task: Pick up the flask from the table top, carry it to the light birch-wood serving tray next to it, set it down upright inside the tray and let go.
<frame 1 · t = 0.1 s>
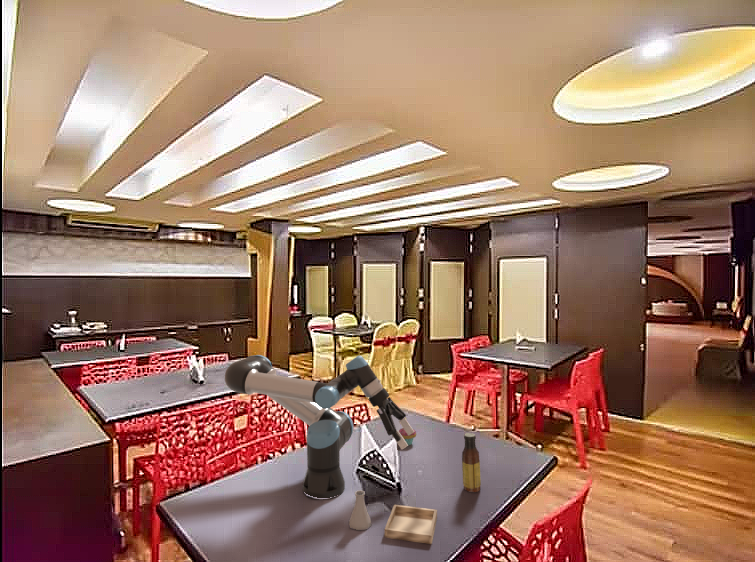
hand: (408, 440, 164), 15 cm above the table, tool tilted 35°, fingers open, 13 cm apart
cupcake: (407, 443, 200), on the table
flask: (360, 524, 137), on the table
serving tray: (411, 527, 135), on the table
sauce bottle: (471, 489, 158), on the table
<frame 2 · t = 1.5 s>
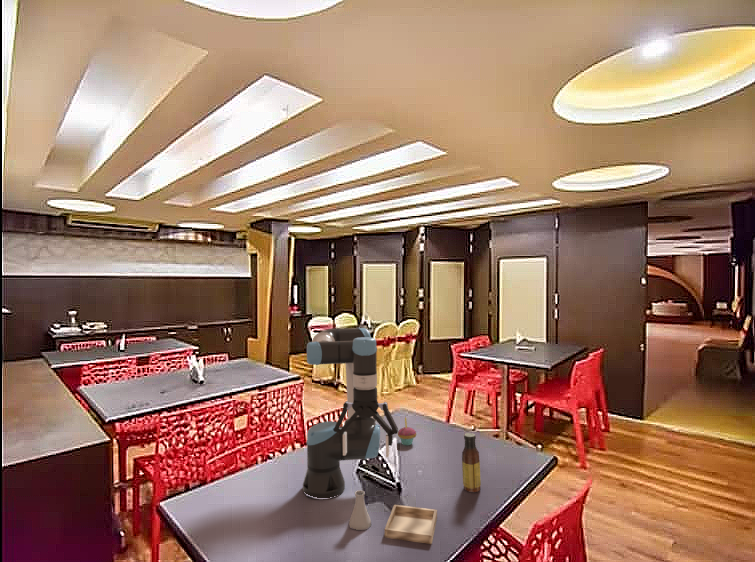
hand: (366, 454, 137), 21 cm above the table, tool pointing down, fingers open, 13 cm apart
nothing on the table moved.
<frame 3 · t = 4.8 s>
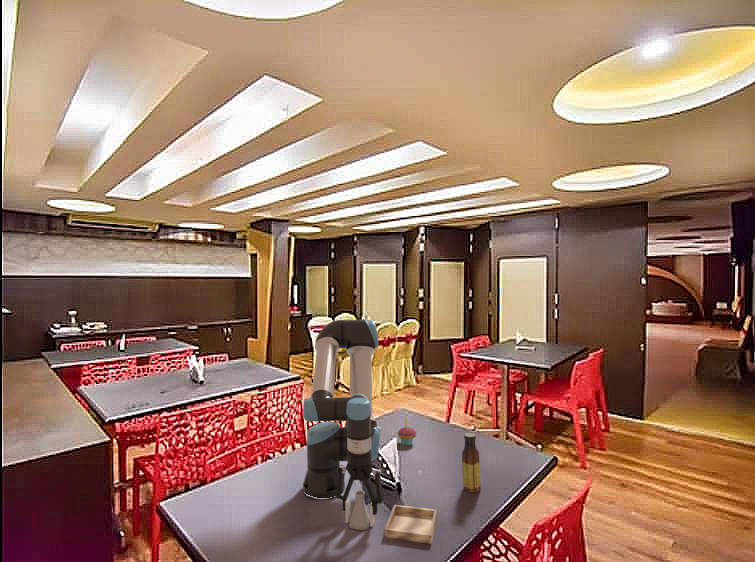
hand: (360, 522, 136), 1 cm above the table, tool pointing down, fingers closed on flask, 7 cm apart
flask: (360, 524, 137), on the table, touching gripper
everything else where it was.
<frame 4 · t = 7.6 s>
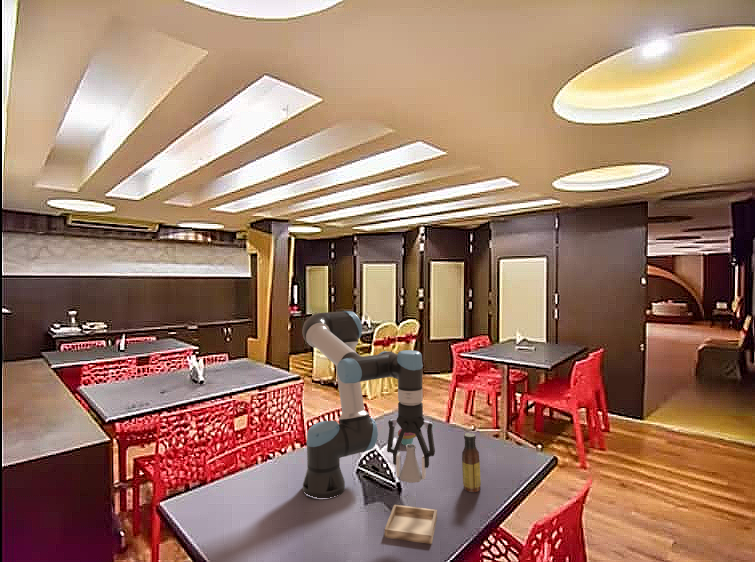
hand: (411, 475, 134), 16 cm above the table, tool pointing down, fingers closed on flask, 7 cm apart
flask: (411, 478, 134), point 15 cm above the table, touching gripper
everything else where it was.
when the fingers open (3 cm above the table, at t = 10.8 s): flask drops 2 cm, resting on serving tray.
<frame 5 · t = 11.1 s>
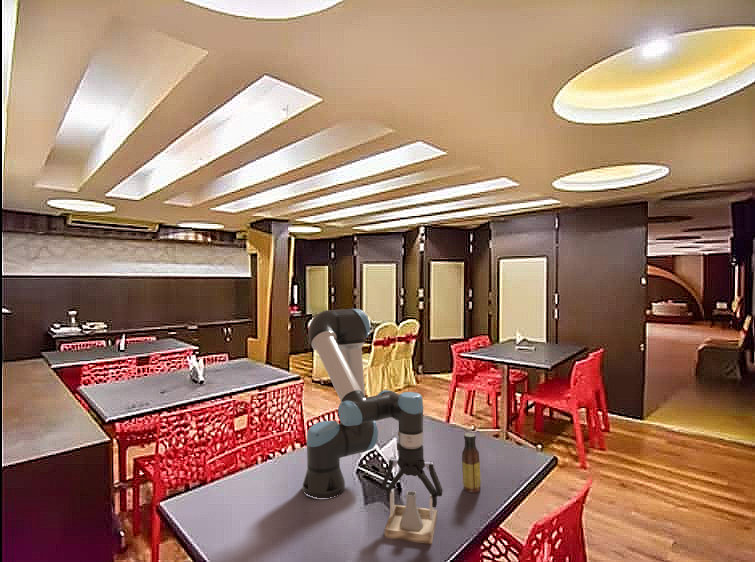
hand: (411, 514, 134), 4 cm above the table, tool pointing down, fingers open, 11 cm apart
flask: (411, 525, 135), resting on serving tray
everything else where it was.
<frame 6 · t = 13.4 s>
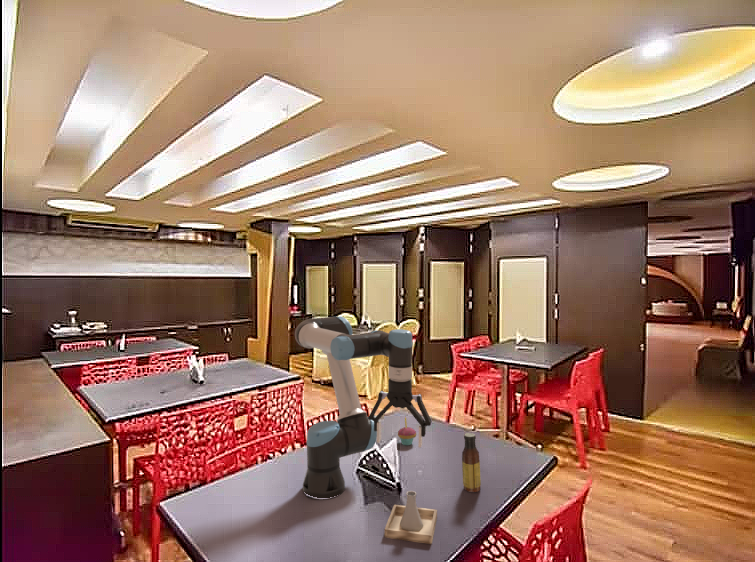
hand: (399, 443, 141), 23 cm above the table, tool pointing down, fingers open, 13 cm apart
nothing on the table moved.
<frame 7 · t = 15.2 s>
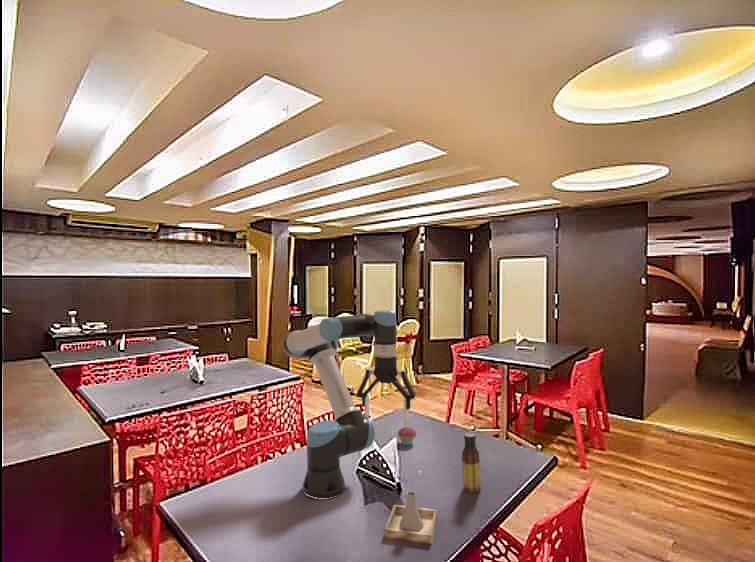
hand: (386, 417, 150), 29 cm above the table, tool pointing down, fingers open, 13 cm apart
nothing on the table moved.
at the end: flask inside the target area on the serving tray (0.1 cm from its centre), point 0.4 cm above the serving tray's base; flask tilted 0°; the gripper is holding nothing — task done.
